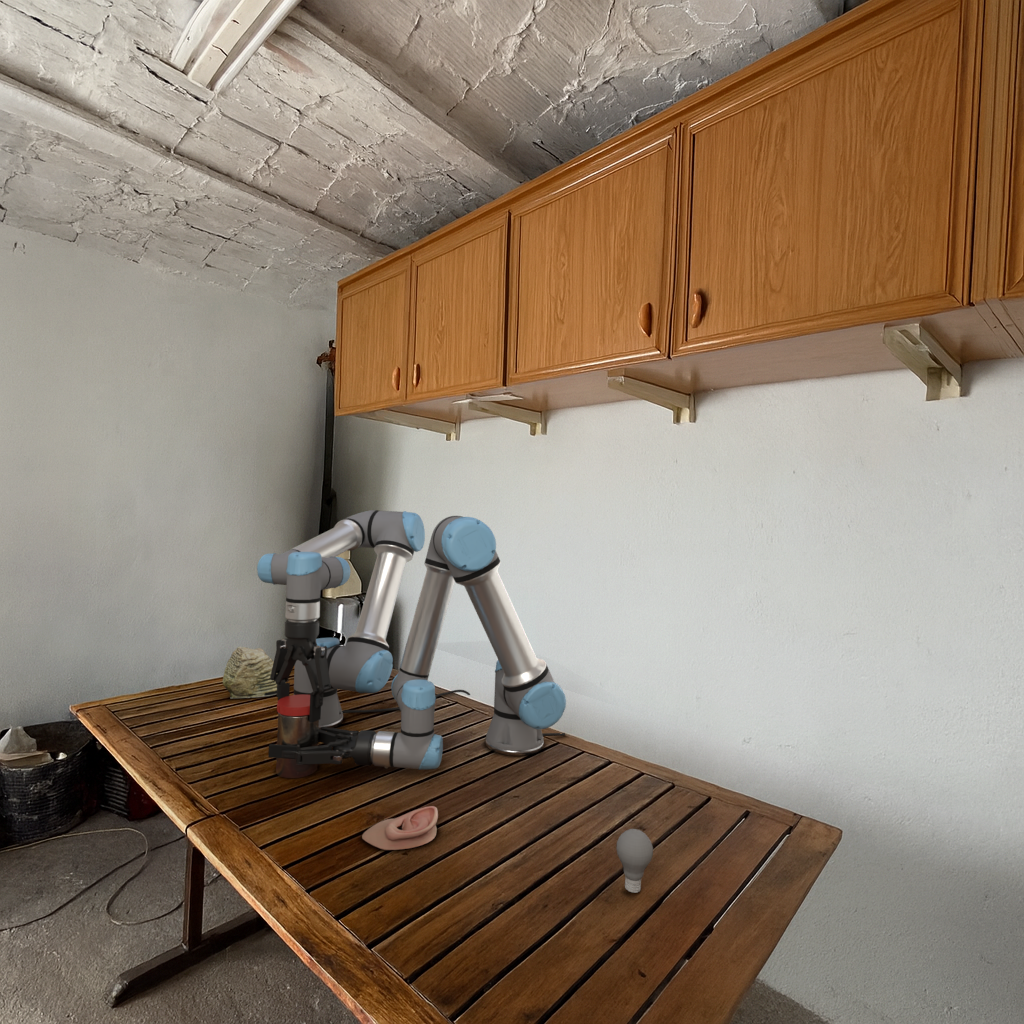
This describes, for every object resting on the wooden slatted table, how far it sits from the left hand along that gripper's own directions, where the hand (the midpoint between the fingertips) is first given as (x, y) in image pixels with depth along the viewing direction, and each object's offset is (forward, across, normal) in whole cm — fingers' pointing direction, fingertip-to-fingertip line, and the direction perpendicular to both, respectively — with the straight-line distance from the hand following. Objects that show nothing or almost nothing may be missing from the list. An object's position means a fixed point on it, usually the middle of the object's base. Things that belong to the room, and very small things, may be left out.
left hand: (298, 716), depth 146 cm
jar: (+12, 0, 0) cm, 12 cm away
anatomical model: (+12, +38, -10) cm, 41 cm away
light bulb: (+12, +81, -3) cm, 82 cm away
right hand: (+6, -4, -2) cm, 8 cm away
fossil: (+12, -52, +31) cm, 62 cm away
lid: (-3, 0, 0) cm, 3 cm away
